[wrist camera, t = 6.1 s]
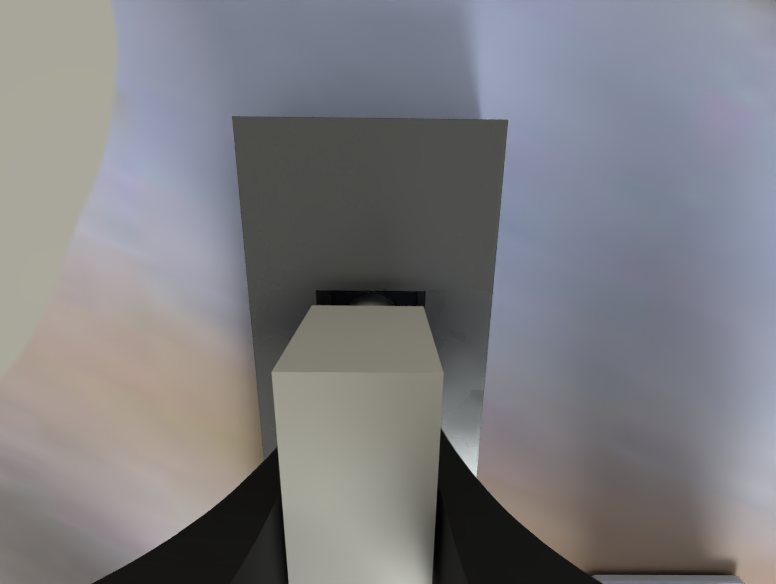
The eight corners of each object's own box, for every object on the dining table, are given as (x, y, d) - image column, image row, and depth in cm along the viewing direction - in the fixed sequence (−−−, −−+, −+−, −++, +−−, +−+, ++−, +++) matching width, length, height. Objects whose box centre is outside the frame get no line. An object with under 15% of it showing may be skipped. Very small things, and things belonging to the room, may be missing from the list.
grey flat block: (451, 554, 19) (463, 619, 17) (295, 553, 19) (279, 618, 16) (482, 132, 14) (507, 119, 11) (264, 130, 14) (232, 116, 11)
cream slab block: (409, 484, 16) (425, 696, 10) (334, 484, 16) (297, 696, 10) (415, 280, 14) (443, 373, 7) (327, 279, 14) (271, 371, 7)
